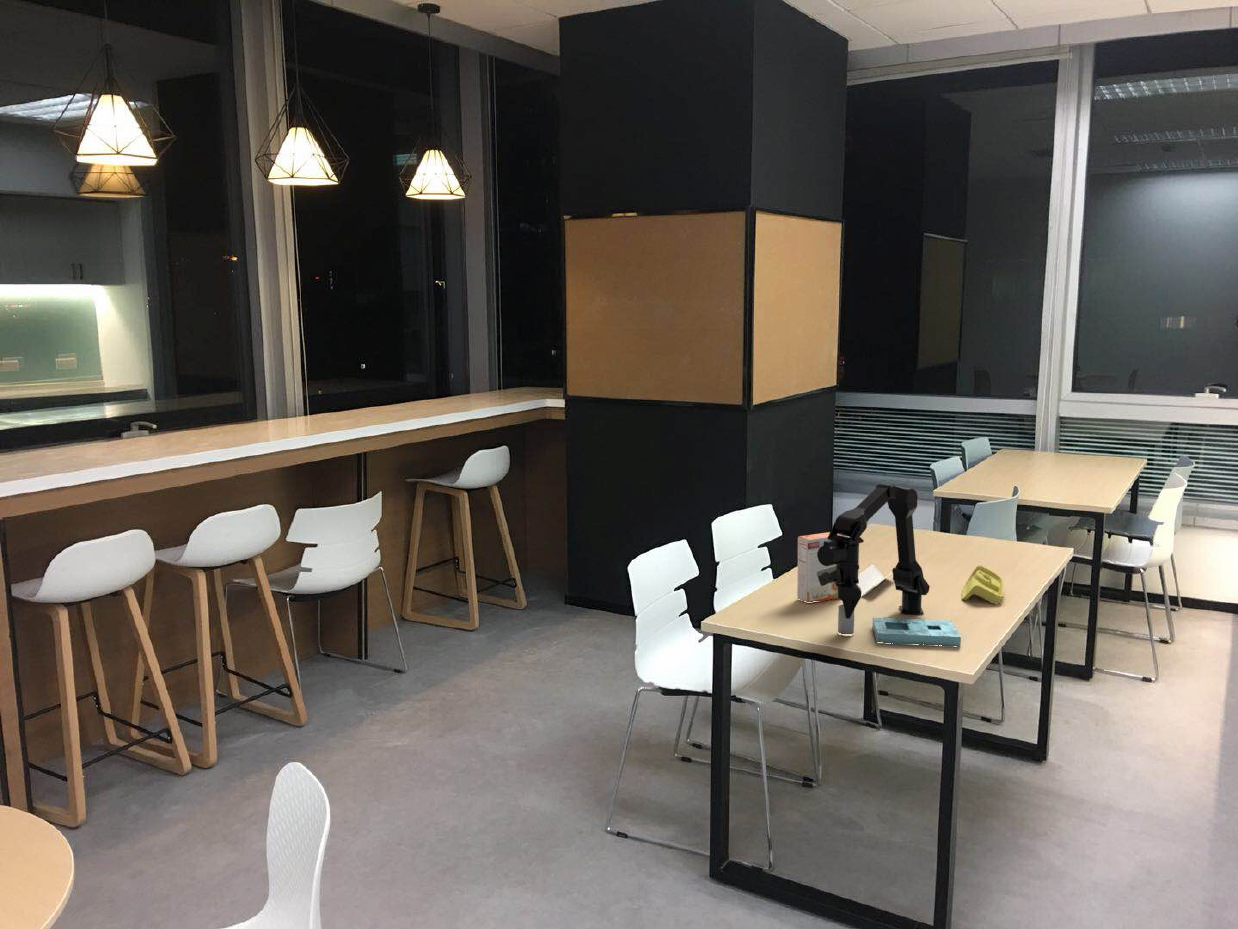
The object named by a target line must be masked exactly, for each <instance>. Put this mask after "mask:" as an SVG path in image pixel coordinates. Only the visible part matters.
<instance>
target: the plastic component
mask: <svg viewBox="0 0 1238 929" xmlns="http://www.w3.org/2000/svg"><path fill="white" fill-rule="evenodd" d="M961 592H962V593H961V597H962V598H961V600H963V601H967V600H968V599H969V598H970V597H971V596H972V595H976V596H978V597H979V598H982V599H983V600H986V601H987V602H989V603H990V604H994V605H997V604H996V603H998V604H999V603H1000V602H1001V600H1002V599H1003V597H1004V581H1003V579H1002V577H1001V576H1000V575H999V574H997V573H996V572H994V571H992V570H991V569H989V568H987V567H985V566H983V565H977V566H976V567H975V568H974V569H973V571H972V573H971V574H970V576H969V577H968V578H967V581H966V582H965V584H964V586H963V589H962V591H961Z"/></svg>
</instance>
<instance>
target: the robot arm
mask: <svg viewBox="0 0 1238 929" xmlns="http://www.w3.org/2000/svg"><path fill="white" fill-rule="evenodd" d="M918 498H919V496H918V493H917V490H915V489H914V488H910V487H905V486H898V485H894V484H889V483H886V482H885V483H882V482H881V483H880V482H879V483H878V484H876V486H875V489H874V490H873V491H871V492H870V493H869V494H868V495H867V496H866V497H865V498H864V499H863V500H862V501H861V502H860V503H859V504H858V505H857V506H856V507H854V508H852V509H849V510H846V511H844V512H843V513H840V514H839V515H838V516H837V517H836V518H835V520H834V523H833V524H832V527H831V530H830V531H829V532H830V534H829V536H828V538H827V539H828V540H830V541H824V543H823V546H821V547H820V548H819V550H818V552H817V557H818V560H819V562H820V563H821V564H822V565H824V566H831V565H834V564H836V566H835V567H831V568H827V569H824V570H821V571H818V572H817V577H818V580H819V582H820V585H821V586H824V585H826V584H828V583H832V582H835V584H836V586H837V587H838V589H837V593H838V598H839V600H840V601H841V602H842V605H844V610H845V616H846V619H850V617H851V615H852V613H853V611H854V612H855V610H856V609H855V608H856V607H857V605H858V603H859V602H860V600H861V598H862V597H861V588H860V587H859V586H858V585H857V584H859V579H858V575H859V570H860V564H859V563H860V562H859V561H860V560H859V558H860V544H862V543H864V542H865V540H864V539H863V538H862V537H861V536H862V534H864V532H865V531H866V529H867V528H868V522H869V520H870V519H872V518H873V516H874V515H875V514H876V513H878V512H879V511H880V509H881V508H882V507H884V505H886V504H887V507H888V509H889V510H890V512H891V514H892V515H893V516H894V522H895V534H896V544H897V545H896V546H897V547H896V548H897V556H898V561H897V563H896V565H895V566H894V567H893V568H892V570H891V572H893V573H892V581H893V582H894V587H895V591H900V592H902V593H901V605H899V606H898V607H899V611H900V614H903V613H904V615H905V614H906V615H907V614H908V615H924V610H923V609H922V598H923V597H922V596H927V594H929V591H930V587H931V586H930V585H929V584H928V581H926V578H924V573H923V568H922V567H921V565H920V564H919V562H918V560H917V559H916V548H915V547H916V546H915V533H914V520H913V518H914V517H913V515H914V513H915V512H916V511H917V508H918ZM837 534H840V535H844V536H840V535H837ZM854 609H855V610H854Z"/></svg>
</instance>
